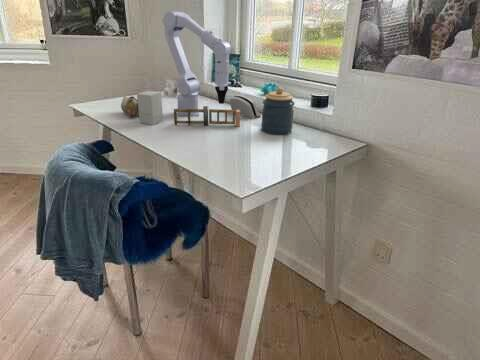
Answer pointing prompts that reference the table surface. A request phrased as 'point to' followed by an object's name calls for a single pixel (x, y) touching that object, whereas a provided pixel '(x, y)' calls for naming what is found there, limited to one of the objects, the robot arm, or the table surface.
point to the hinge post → (205, 115)
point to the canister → (277, 112)
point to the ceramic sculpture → (130, 106)
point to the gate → (218, 116)
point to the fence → (188, 116)
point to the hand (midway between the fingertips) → (221, 103)
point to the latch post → (237, 118)
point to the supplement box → (150, 107)
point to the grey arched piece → (244, 106)
